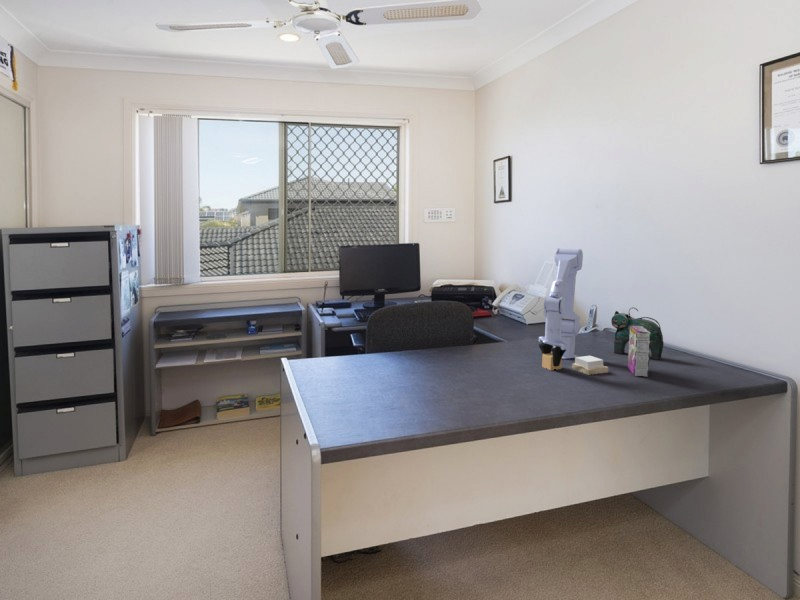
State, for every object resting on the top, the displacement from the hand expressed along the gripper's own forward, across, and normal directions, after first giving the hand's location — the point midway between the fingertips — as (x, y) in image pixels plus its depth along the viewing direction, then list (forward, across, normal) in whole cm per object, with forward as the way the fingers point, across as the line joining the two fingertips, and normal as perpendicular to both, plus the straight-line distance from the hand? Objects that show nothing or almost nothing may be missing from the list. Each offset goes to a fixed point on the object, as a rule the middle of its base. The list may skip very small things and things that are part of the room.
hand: (551, 364), depth 197 cm
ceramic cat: (+2, -2, +44) cm, 44 cm away
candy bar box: (+2, +17, +25) cm, 30 cm away
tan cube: (+1, 0, 0) cm, 1 cm away
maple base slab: (+2, +8, +11) cm, 14 cm away
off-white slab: (0, +8, +11) cm, 13 cm away
